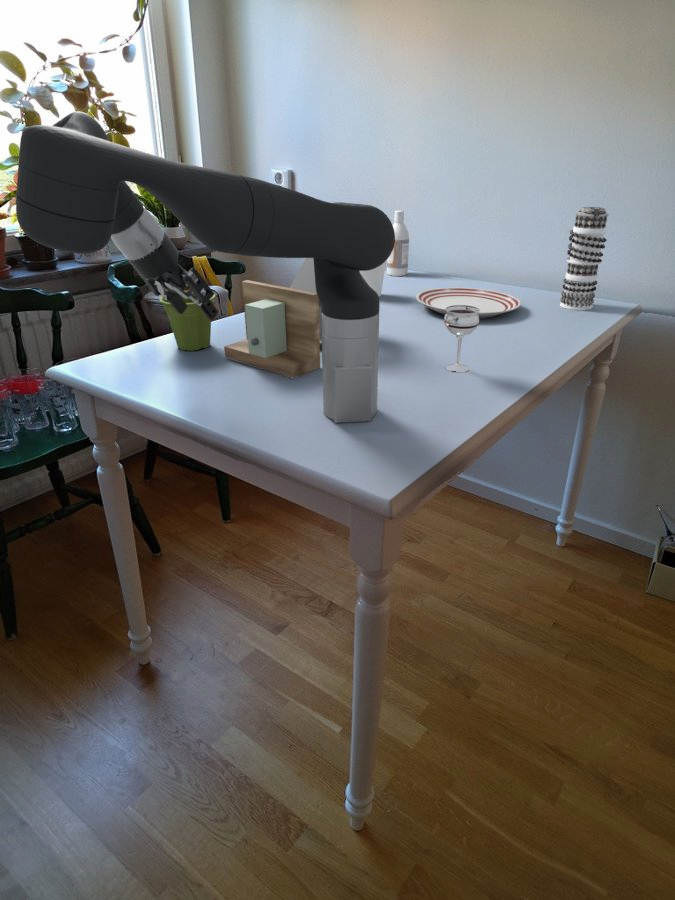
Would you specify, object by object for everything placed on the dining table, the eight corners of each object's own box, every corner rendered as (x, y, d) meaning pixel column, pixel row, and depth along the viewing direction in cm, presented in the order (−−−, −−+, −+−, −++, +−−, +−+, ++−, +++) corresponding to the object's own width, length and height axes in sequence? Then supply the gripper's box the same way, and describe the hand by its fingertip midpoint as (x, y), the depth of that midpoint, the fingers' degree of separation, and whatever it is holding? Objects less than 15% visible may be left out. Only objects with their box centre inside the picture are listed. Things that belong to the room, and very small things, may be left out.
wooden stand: (293, 378, 119) (289, 301, 112) (225, 357, 130) (218, 286, 123) (320, 367, 124) (318, 293, 117) (252, 348, 136) (247, 280, 129)
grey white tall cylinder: (554, 301, 170) (569, 205, 158) (588, 302, 169) (606, 205, 158) (562, 310, 162) (578, 209, 150) (598, 310, 161) (617, 209, 150)
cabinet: (262, 359, 121) (259, 309, 117) (245, 354, 124) (241, 305, 120) (286, 350, 126) (284, 302, 121) (269, 346, 129) (267, 298, 124)
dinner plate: (506, 297, 176) (507, 285, 174) (531, 323, 152) (533, 310, 150) (411, 297, 177) (412, 286, 175) (421, 324, 152) (421, 311, 151)
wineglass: (471, 362, 126) (477, 304, 121) (477, 374, 120) (483, 313, 115) (438, 362, 126) (442, 304, 121) (442, 374, 120) (447, 314, 115)
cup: (349, 293, 181) (349, 251, 175) (378, 291, 183) (379, 249, 177) (359, 300, 173) (360, 257, 167) (389, 298, 175) (390, 255, 170)
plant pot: (164, 341, 141) (157, 292, 135) (215, 336, 144) (210, 288, 139) (169, 357, 131) (161, 305, 125) (224, 351, 134) (219, 300, 129)
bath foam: (382, 273, 206) (384, 210, 197) (400, 271, 209) (402, 209, 199) (393, 277, 200) (395, 212, 191) (411, 275, 203) (414, 211, 194)
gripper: (104, 255, 101) (162, 323, 113) (156, 261, 93) (212, 334, 105) (131, 224, 104) (185, 294, 116) (184, 228, 95) (236, 302, 108)
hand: (198, 313), depth 110 cm, fingers open, 8 cm apart
